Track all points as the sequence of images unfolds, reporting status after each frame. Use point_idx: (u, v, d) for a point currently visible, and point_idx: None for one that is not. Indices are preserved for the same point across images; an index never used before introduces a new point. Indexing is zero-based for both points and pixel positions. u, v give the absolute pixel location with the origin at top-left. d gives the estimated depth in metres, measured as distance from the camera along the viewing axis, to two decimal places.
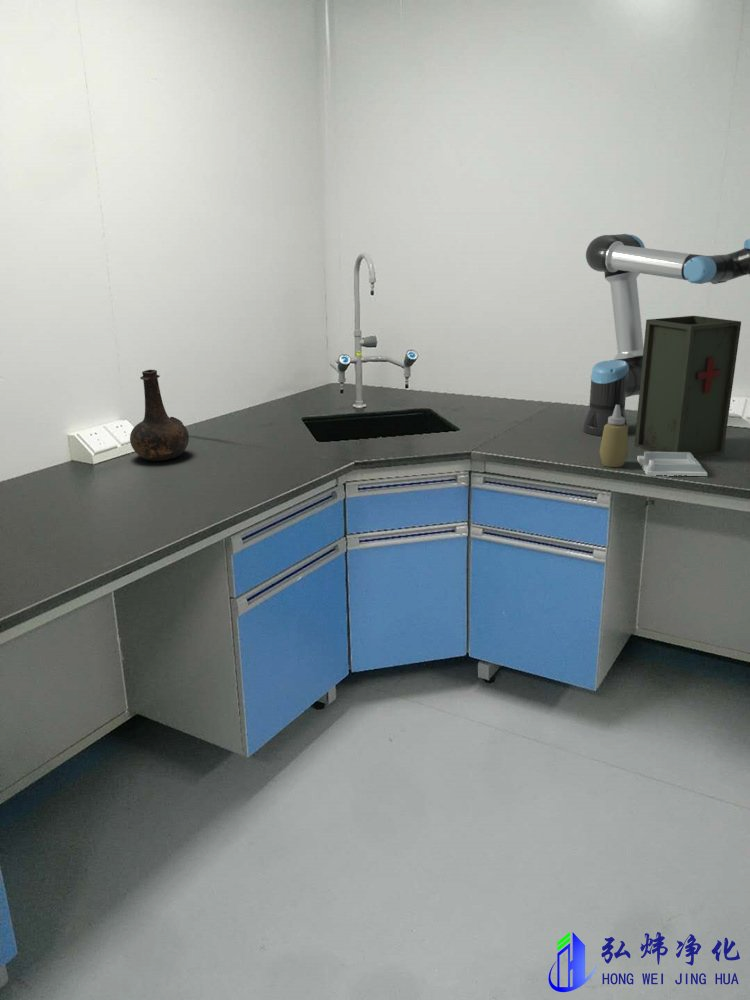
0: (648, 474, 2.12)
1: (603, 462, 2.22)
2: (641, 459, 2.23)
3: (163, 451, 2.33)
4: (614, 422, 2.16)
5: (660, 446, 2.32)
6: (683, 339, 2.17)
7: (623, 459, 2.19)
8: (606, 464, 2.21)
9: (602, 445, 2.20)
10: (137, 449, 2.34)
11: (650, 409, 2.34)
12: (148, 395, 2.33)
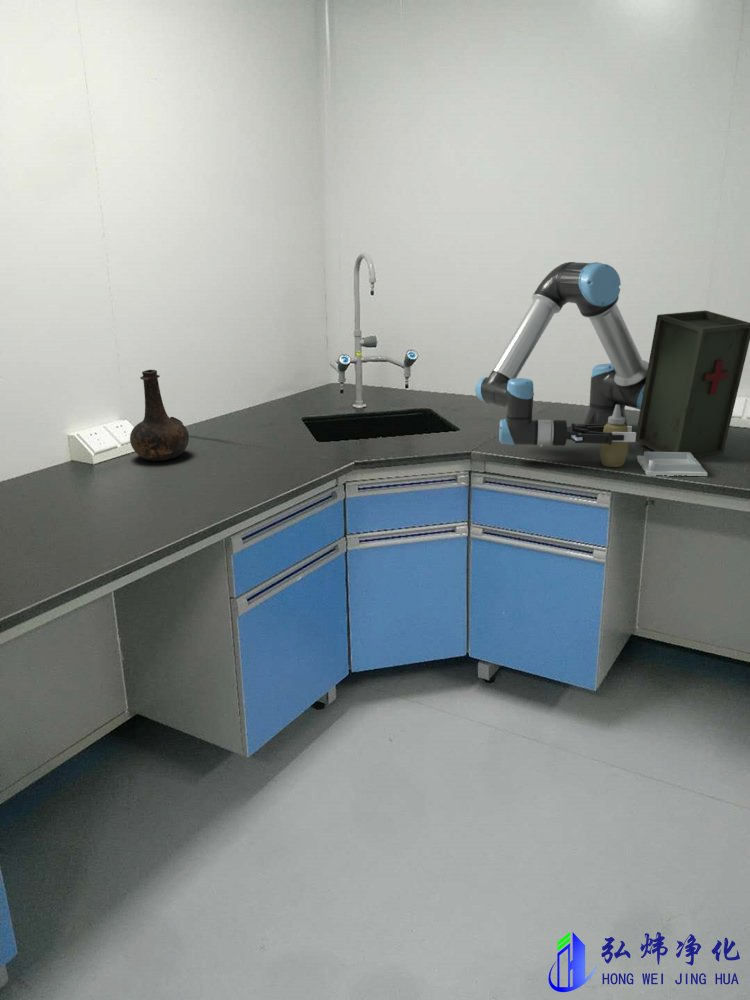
0: (648, 474, 2.12)
1: (603, 462, 2.22)
2: (641, 459, 2.23)
3: (163, 451, 2.33)
4: (614, 422, 2.16)
5: (661, 443, 2.32)
6: (693, 340, 2.13)
7: (623, 459, 2.19)
8: (606, 464, 2.21)
9: (602, 445, 2.20)
10: (137, 449, 2.34)
11: (653, 405, 2.32)
12: (148, 395, 2.33)
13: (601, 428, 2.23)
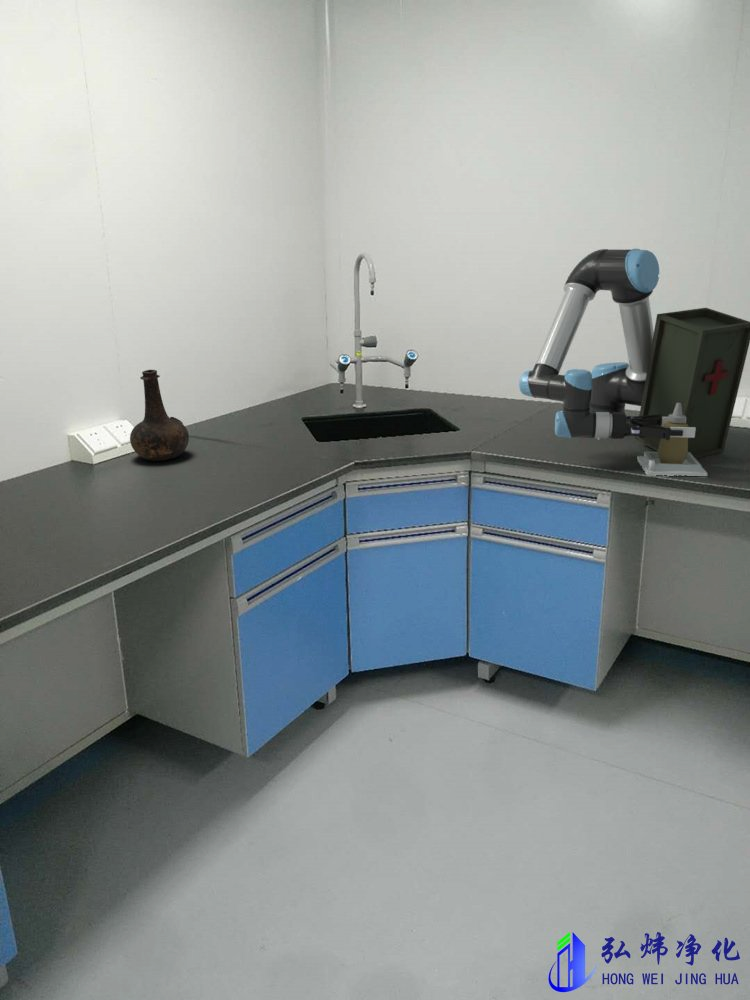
0: (648, 474, 2.12)
1: (662, 461, 2.17)
2: (641, 459, 2.23)
3: (163, 451, 2.33)
4: (675, 420, 2.11)
5: None
6: (693, 341, 2.12)
7: (683, 458, 2.14)
8: (665, 463, 2.16)
9: (661, 444, 2.15)
10: (137, 449, 2.34)
11: (654, 404, 2.32)
12: (148, 395, 2.33)
13: (656, 419, 2.19)
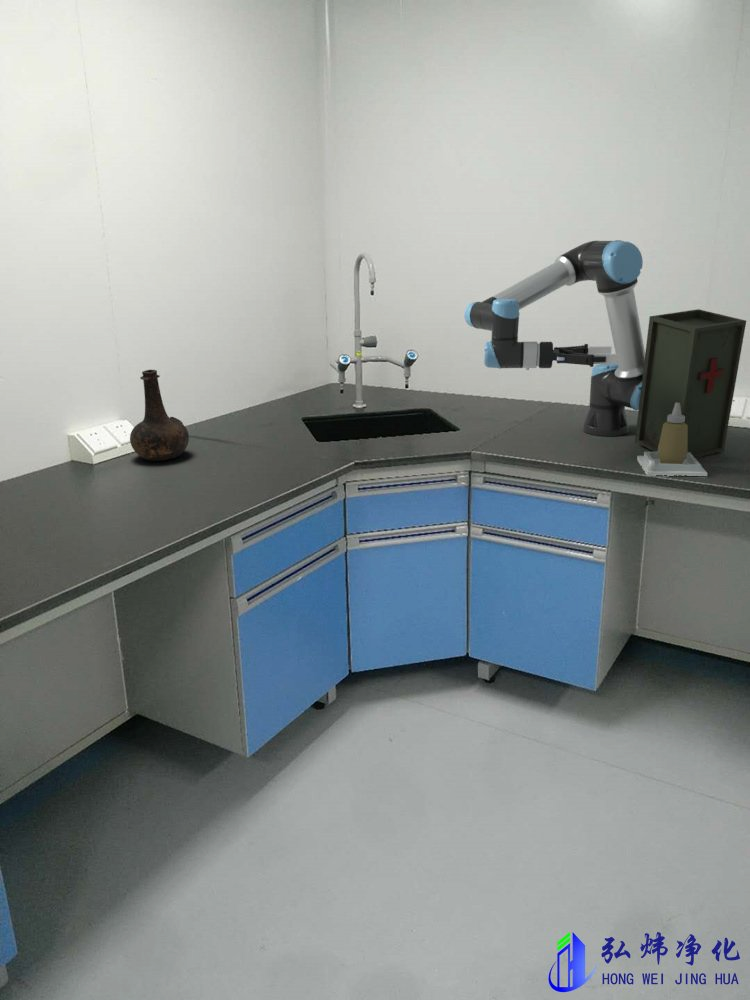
0: (648, 474, 2.12)
1: (662, 461, 2.17)
2: (641, 459, 2.23)
3: (163, 451, 2.33)
4: (674, 420, 2.12)
5: None
6: (686, 340, 2.14)
7: (683, 458, 2.14)
8: (665, 463, 2.16)
9: (661, 444, 2.15)
10: (137, 449, 2.34)
11: (651, 406, 2.33)
12: (148, 395, 2.33)
13: (583, 349, 2.21)
